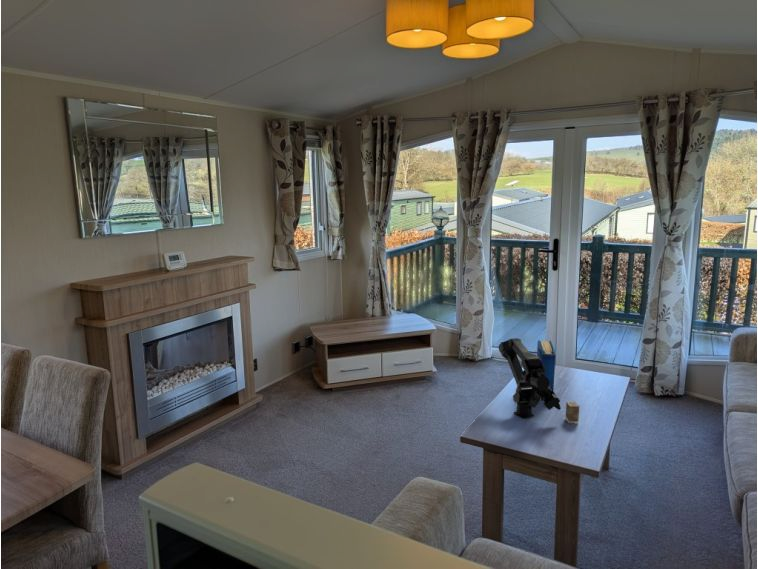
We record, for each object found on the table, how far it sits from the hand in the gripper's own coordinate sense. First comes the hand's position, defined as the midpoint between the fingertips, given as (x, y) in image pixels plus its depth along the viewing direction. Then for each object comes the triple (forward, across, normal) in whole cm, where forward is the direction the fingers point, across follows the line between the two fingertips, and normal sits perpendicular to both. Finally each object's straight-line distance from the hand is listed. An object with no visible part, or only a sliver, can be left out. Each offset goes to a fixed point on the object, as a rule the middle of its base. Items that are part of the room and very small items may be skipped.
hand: (559, 408), depth 231 cm
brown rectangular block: (+8, 0, 0) cm, 8 cm away
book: (+6, -32, -3) cm, 32 cm away
